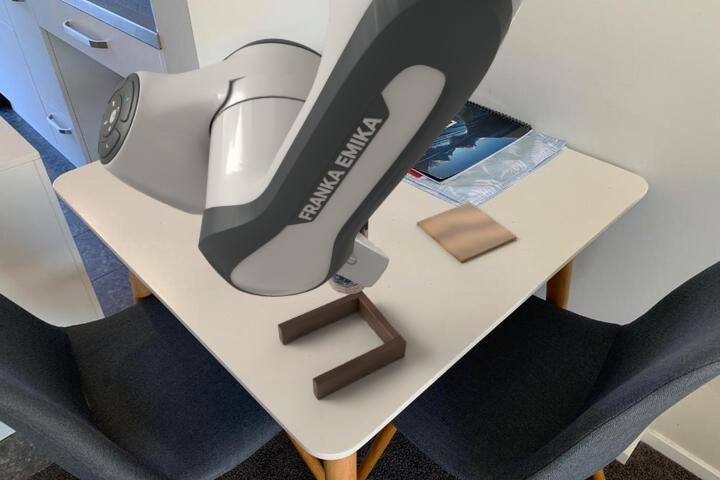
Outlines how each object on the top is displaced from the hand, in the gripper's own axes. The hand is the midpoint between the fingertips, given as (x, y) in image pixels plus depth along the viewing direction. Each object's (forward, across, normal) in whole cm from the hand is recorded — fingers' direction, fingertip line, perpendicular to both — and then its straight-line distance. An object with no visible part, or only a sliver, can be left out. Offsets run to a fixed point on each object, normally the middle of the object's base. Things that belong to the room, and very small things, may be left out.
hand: (352, 239), depth 60 cm
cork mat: (+34, +8, -9) cm, 36 cm away
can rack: (+11, 0, +14) cm, 18 cm away
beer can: (+4, 0, +5) cm, 7 cm away
